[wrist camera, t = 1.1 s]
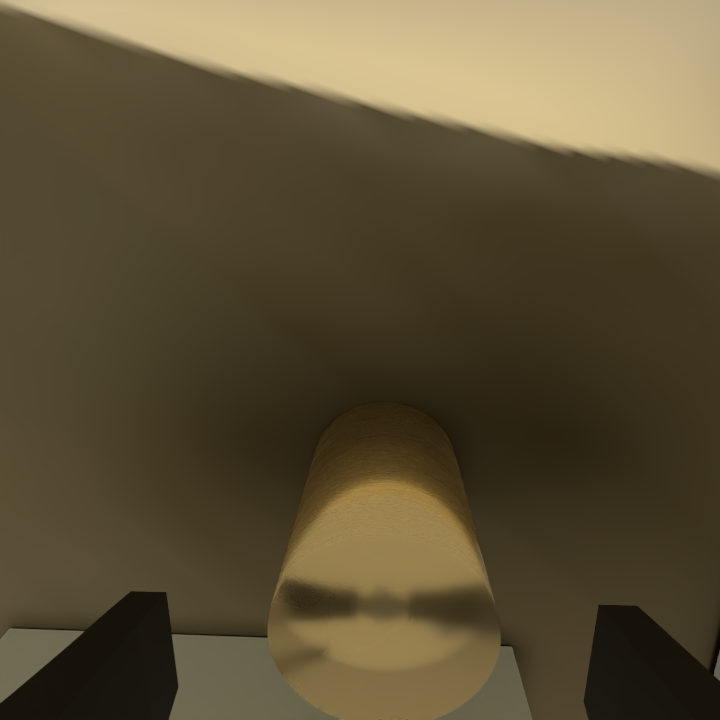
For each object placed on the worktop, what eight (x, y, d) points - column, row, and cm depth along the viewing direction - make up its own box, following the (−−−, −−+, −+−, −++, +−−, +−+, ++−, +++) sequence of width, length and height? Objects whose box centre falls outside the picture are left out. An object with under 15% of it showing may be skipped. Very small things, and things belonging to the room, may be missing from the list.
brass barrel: (460, 403, 14) (510, 541, 8) (452, 532, 15) (492, 731, 10) (311, 400, 14) (260, 535, 9) (315, 528, 16) (273, 722, 10)
